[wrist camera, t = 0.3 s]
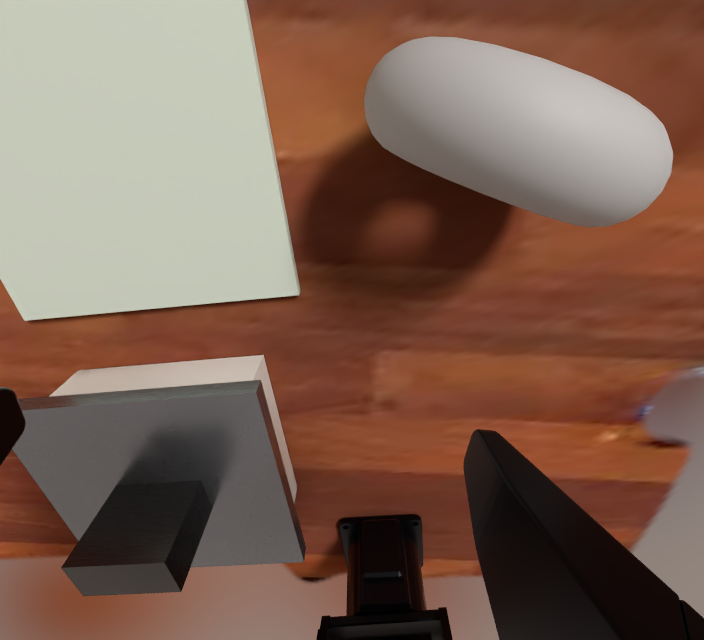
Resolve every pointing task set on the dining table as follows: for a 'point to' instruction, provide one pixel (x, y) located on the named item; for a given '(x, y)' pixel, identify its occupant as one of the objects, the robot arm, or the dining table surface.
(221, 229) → the mat
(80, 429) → the lid
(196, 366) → the dish
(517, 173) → the donut
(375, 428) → the dining table surface
